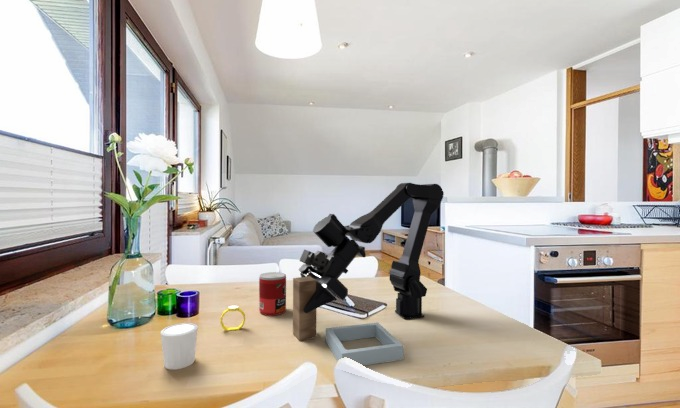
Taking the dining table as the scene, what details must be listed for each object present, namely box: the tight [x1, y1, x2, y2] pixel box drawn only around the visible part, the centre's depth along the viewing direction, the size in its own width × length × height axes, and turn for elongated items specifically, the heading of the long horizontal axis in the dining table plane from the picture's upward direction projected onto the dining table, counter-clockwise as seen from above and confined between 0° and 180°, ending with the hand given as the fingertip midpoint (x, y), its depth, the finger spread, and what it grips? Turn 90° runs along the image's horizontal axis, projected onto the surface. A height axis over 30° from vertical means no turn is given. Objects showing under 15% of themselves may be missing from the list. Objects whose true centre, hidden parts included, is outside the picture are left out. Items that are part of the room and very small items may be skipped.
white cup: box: [160, 322, 199, 370], centre depth 67 cm, size 7×7×7 cm
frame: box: [325, 322, 404, 366], centre depth 73 cm, size 13×13×3 cm
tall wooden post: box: [292, 276, 317, 342], centre depth 81 cm, size 4×4×14 cm
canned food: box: [258, 271, 287, 316], centre depth 98 cm, size 8×8×11 cm
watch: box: [220, 304, 246, 332], centre depth 85 cm, size 6×3×6 cm, turn 107°
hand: (299, 307), depth 80 cm, fingers open, 7 cm apart
